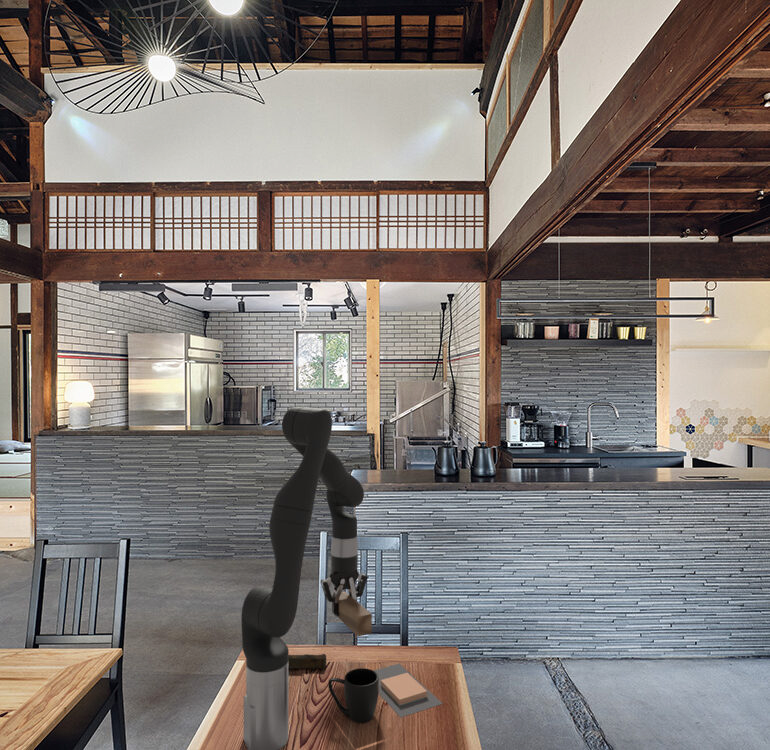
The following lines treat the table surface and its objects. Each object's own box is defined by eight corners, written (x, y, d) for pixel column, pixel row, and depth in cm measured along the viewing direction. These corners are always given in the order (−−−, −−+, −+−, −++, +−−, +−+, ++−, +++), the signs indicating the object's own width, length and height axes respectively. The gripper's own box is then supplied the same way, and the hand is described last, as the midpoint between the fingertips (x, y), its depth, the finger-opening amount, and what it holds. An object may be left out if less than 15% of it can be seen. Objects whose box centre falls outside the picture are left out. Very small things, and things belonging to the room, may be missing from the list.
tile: (380, 686, 140) (399, 706, 131) (380, 680, 140) (399, 699, 131) (407, 678, 144) (427, 697, 135) (407, 672, 144) (427, 691, 135)
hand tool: (327, 665, 152) (327, 649, 152) (324, 673, 148) (324, 655, 148) (261, 664, 153) (261, 647, 153) (257, 671, 149) (257, 654, 149)
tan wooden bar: (357, 636, 138) (357, 616, 138) (332, 611, 154) (332, 593, 154) (371, 633, 140) (371, 613, 140) (345, 608, 156) (345, 591, 156)
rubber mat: (400, 719, 127) (400, 717, 127) (360, 675, 146) (360, 674, 146) (442, 705, 133) (442, 703, 133) (399, 664, 152) (399, 663, 152)
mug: (332, 705, 133) (332, 666, 133) (380, 708, 131) (380, 668, 132) (325, 726, 124) (325, 684, 125) (376, 729, 123) (376, 687, 123)
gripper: (325, 559, 145) (324, 623, 145) (372, 552, 152) (372, 614, 151) (316, 552, 152) (315, 613, 151) (361, 546, 159) (361, 605, 158)
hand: (343, 613), depth 151 cm, fingers closed on tan wooden bar, 4 cm apart
